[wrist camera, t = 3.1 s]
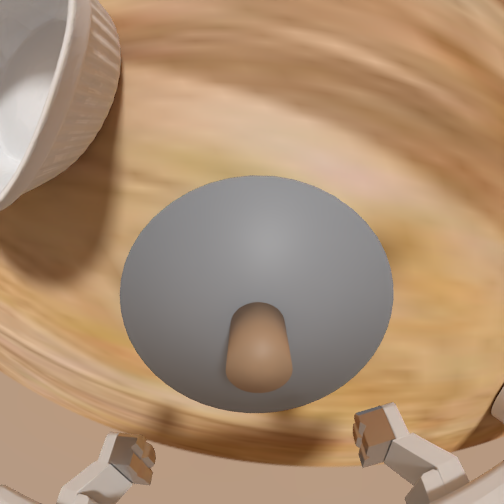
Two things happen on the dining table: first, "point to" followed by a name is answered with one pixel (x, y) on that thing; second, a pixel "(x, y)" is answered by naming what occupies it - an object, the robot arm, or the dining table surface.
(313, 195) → the lid
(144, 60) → the dining table surface
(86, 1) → the ramekin
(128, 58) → the dining table surface
